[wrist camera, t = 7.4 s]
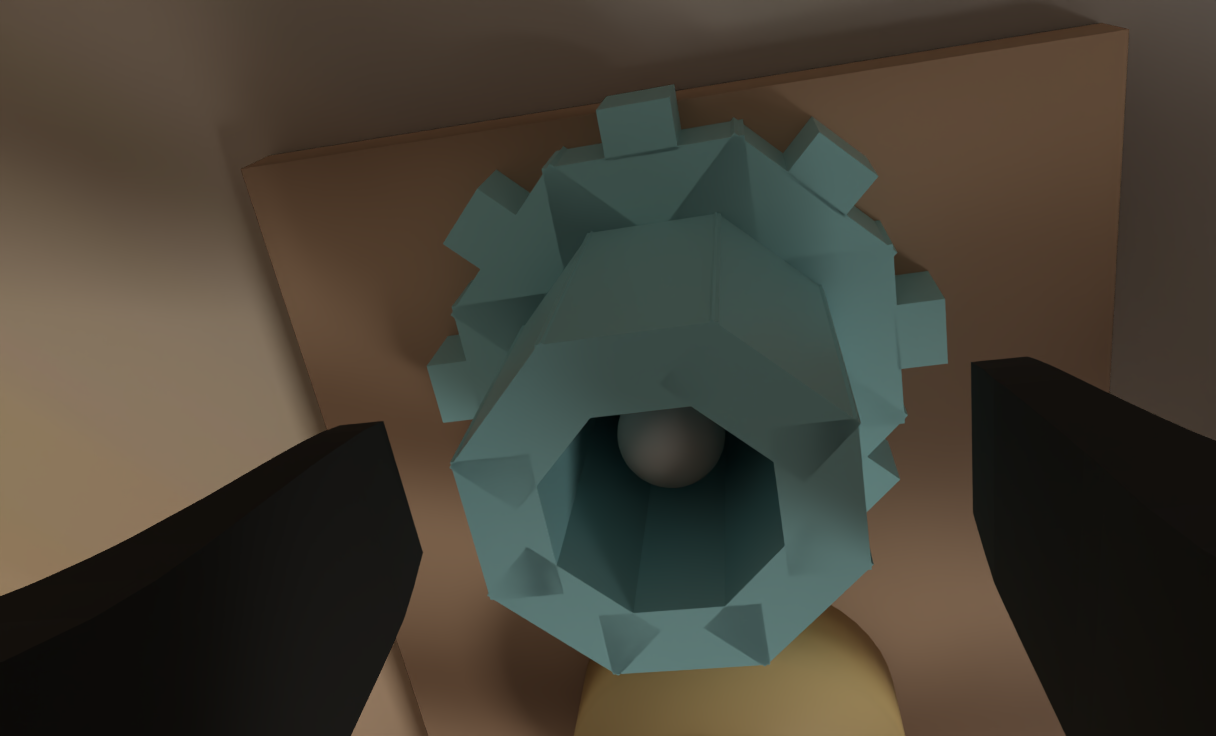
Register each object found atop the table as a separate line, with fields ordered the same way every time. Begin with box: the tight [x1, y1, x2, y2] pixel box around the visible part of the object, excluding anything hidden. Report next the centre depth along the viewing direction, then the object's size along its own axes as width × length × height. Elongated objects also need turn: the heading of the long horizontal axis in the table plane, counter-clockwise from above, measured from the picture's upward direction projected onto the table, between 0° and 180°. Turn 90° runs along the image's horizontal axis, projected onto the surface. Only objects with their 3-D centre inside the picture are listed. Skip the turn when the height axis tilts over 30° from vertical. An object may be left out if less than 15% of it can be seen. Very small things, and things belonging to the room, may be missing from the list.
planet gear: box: [427, 84, 948, 676], centre depth 13 cm, size 8×8×5 cm
